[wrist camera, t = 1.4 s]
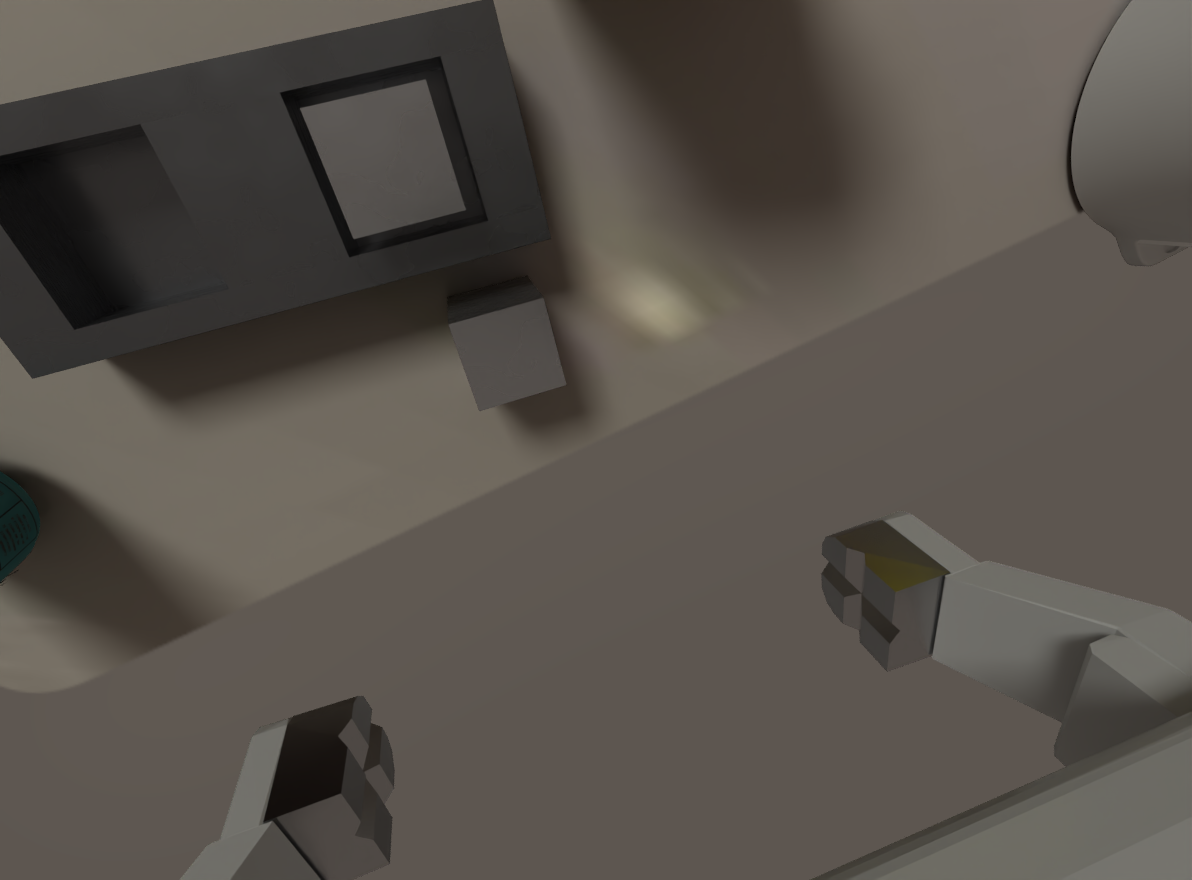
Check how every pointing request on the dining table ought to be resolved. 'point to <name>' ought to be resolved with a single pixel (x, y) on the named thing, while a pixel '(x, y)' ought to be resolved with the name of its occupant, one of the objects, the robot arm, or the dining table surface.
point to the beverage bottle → (15, 525)
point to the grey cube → (505, 342)
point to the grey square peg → (385, 158)
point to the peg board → (240, 188)
